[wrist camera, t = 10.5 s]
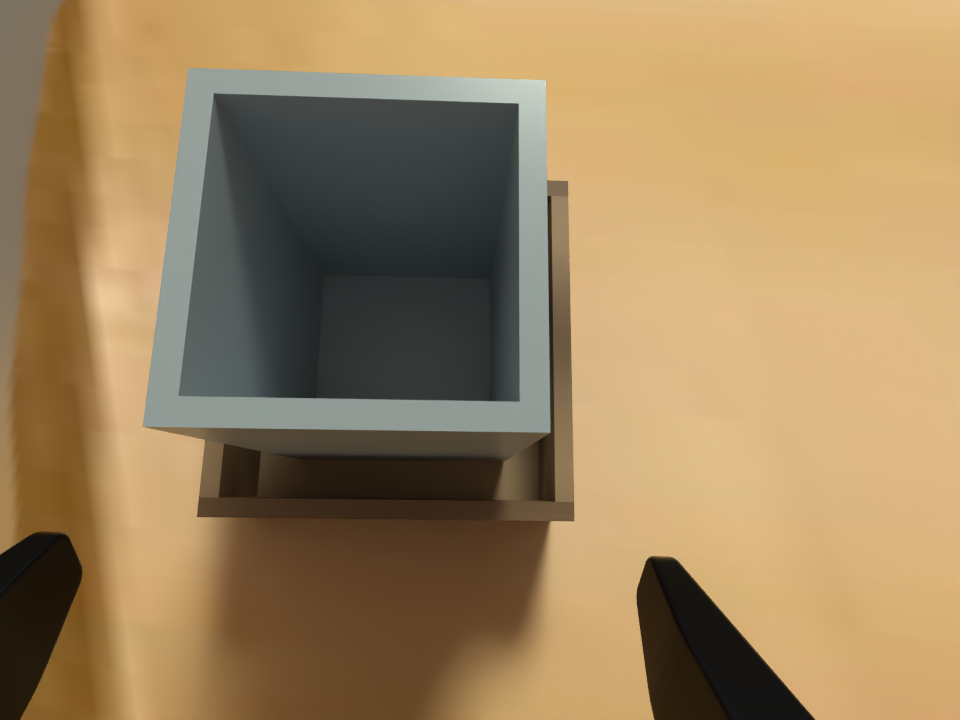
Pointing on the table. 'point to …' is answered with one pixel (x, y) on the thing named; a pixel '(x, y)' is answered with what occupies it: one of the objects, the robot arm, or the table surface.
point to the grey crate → (356, 267)
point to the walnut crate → (421, 484)
